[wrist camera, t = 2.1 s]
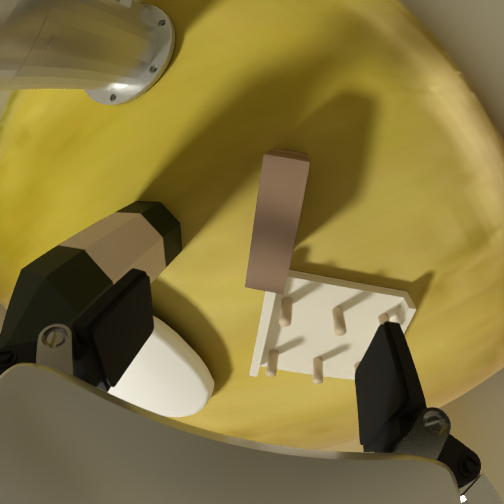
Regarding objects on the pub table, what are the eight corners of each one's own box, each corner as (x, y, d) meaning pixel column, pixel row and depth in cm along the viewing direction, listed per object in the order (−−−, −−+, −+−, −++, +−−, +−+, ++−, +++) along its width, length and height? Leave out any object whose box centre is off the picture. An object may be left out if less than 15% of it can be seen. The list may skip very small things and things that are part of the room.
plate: (246, 404, 33) (155, 429, 44) (251, 368, 39) (164, 405, 50) (68, 274, 25) (39, 349, 36) (96, 246, 31) (55, 327, 42)
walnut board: (274, 148, 24) (263, 154, 17) (306, 153, 24) (310, 162, 16) (260, 246, 28) (245, 286, 21) (288, 251, 28) (283, 294, 21)
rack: (271, 266, 29) (265, 291, 24) (407, 291, 27) (420, 317, 23) (253, 356, 35) (247, 384, 31) (364, 372, 33) (368, 400, 29)
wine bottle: (193, 218, 28) (-40, 483, 1) (172, 278, 32) (16, 501, 5) (130, 187, 28) (-115, 353, 1) (117, 247, 32) (-59, 418, 5)
